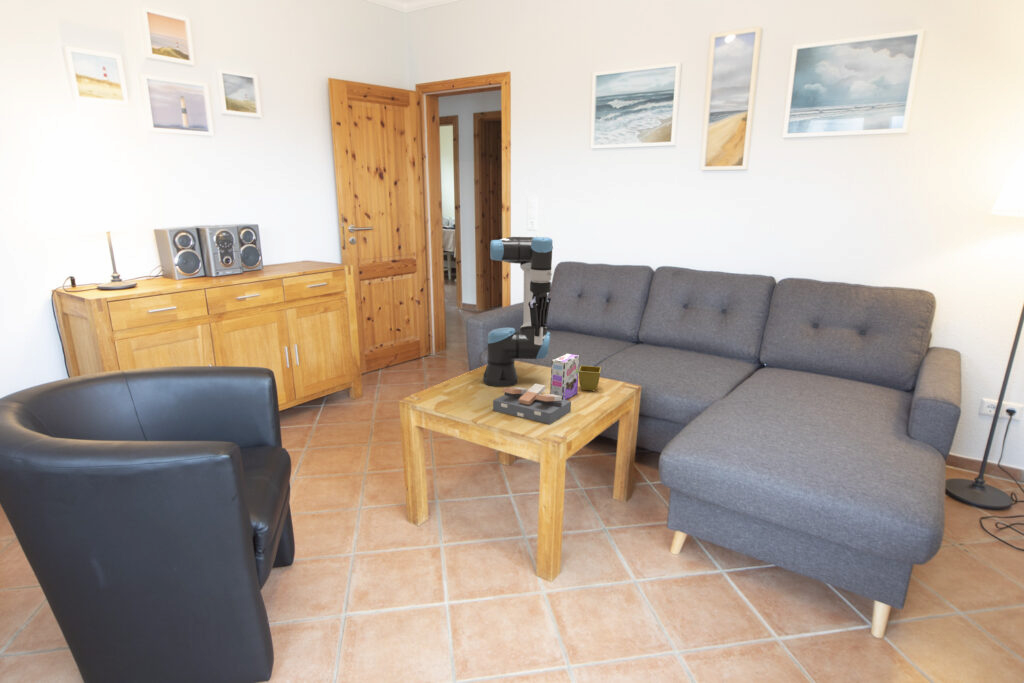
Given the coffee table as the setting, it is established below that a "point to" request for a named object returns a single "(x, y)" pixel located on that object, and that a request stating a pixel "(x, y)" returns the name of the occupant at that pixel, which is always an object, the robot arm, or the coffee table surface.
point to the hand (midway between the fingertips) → (538, 344)
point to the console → (532, 408)
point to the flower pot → (589, 377)
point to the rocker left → (515, 390)
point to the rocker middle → (531, 394)
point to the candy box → (565, 376)
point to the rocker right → (548, 397)
